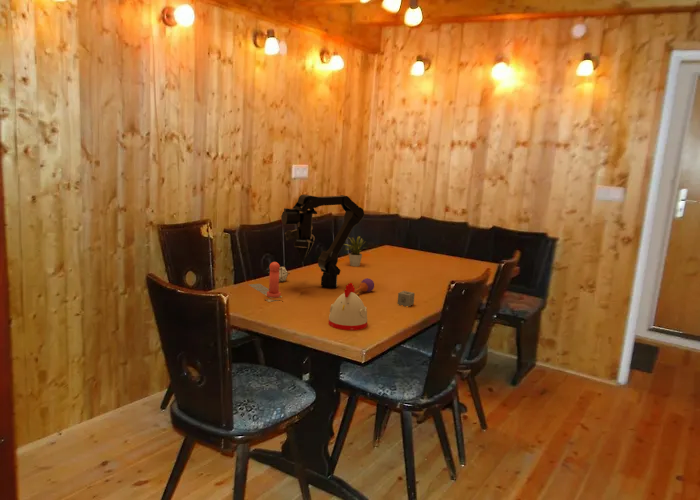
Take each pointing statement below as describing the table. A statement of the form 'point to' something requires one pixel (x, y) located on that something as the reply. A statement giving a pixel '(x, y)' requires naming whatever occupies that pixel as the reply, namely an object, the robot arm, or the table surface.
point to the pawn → (274, 281)
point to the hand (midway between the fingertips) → (303, 259)
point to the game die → (283, 274)
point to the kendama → (365, 286)
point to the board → (263, 290)
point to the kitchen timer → (348, 311)
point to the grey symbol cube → (406, 298)
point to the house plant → (355, 252)
